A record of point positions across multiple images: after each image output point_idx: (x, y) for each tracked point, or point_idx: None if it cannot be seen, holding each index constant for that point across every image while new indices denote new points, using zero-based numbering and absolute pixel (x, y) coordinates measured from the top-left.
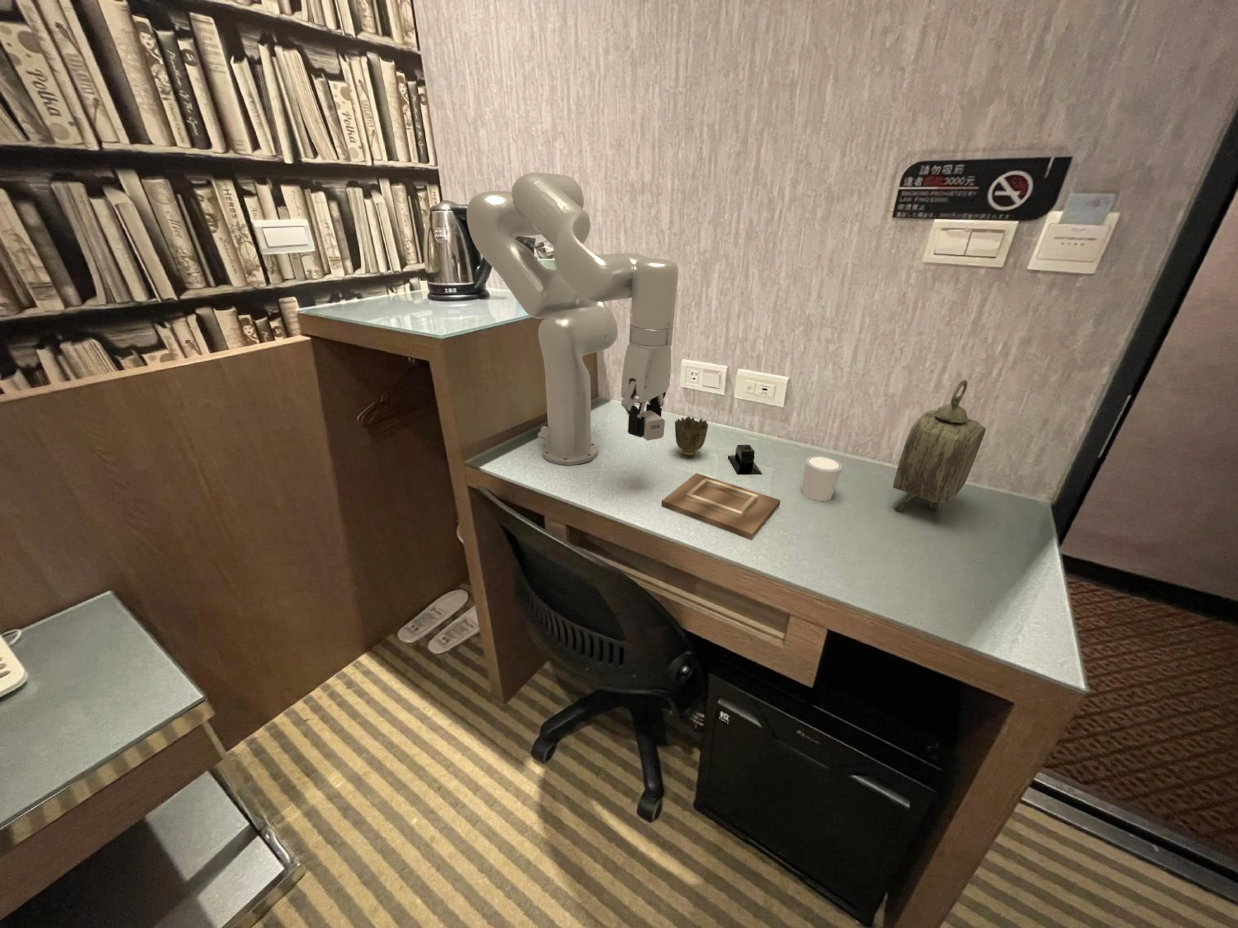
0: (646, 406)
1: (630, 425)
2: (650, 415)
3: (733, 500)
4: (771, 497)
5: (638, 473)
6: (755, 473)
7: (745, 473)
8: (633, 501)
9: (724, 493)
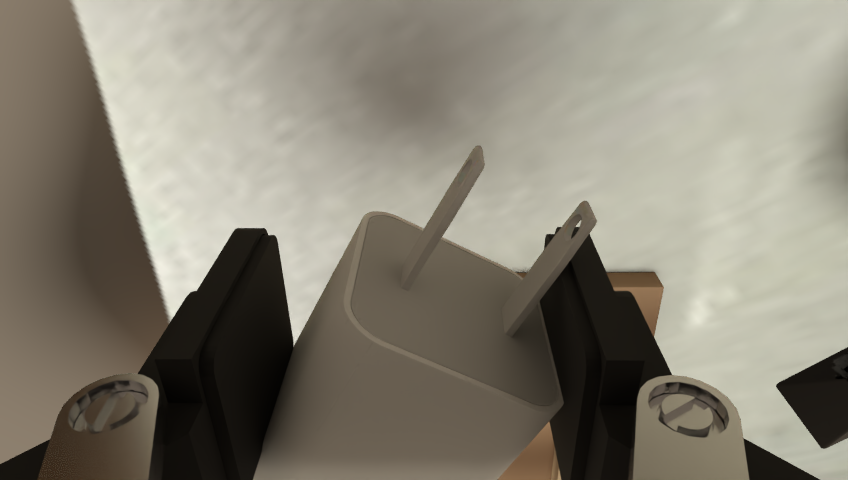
0: (584, 356)
1: (173, 328)
2: (399, 466)
3: (514, 468)
4: None
5: (544, 14)
6: (818, 430)
7: (801, 404)
8: (280, 163)
9: (545, 433)
